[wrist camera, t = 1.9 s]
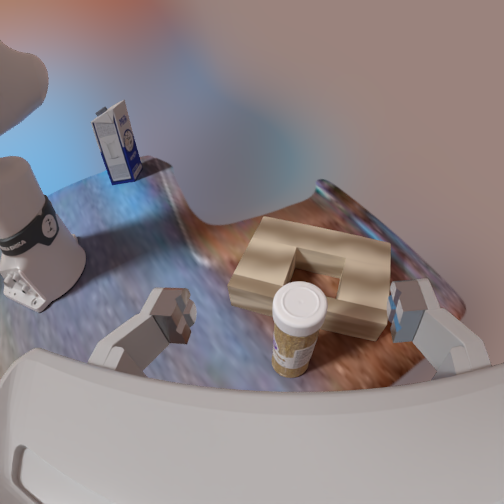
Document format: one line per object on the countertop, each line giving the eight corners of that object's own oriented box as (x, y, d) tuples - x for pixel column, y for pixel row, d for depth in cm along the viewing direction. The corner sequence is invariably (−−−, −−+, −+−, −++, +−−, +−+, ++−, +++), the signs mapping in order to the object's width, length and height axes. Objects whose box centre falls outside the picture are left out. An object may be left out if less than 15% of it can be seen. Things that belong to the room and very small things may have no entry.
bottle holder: (375, 341, 33) (386, 324, 29) (231, 305, 38) (227, 285, 35) (382, 263, 41) (390, 243, 38) (264, 237, 47) (263, 216, 44)
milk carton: (134, 181, 63) (112, 107, 49) (111, 185, 64) (88, 114, 49) (142, 167, 68) (124, 98, 54) (121, 171, 68) (101, 105, 54)
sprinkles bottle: (265, 354, 33) (262, 291, 23) (298, 339, 34) (310, 271, 24) (282, 385, 30) (289, 335, 20) (316, 368, 31) (339, 310, 21)
